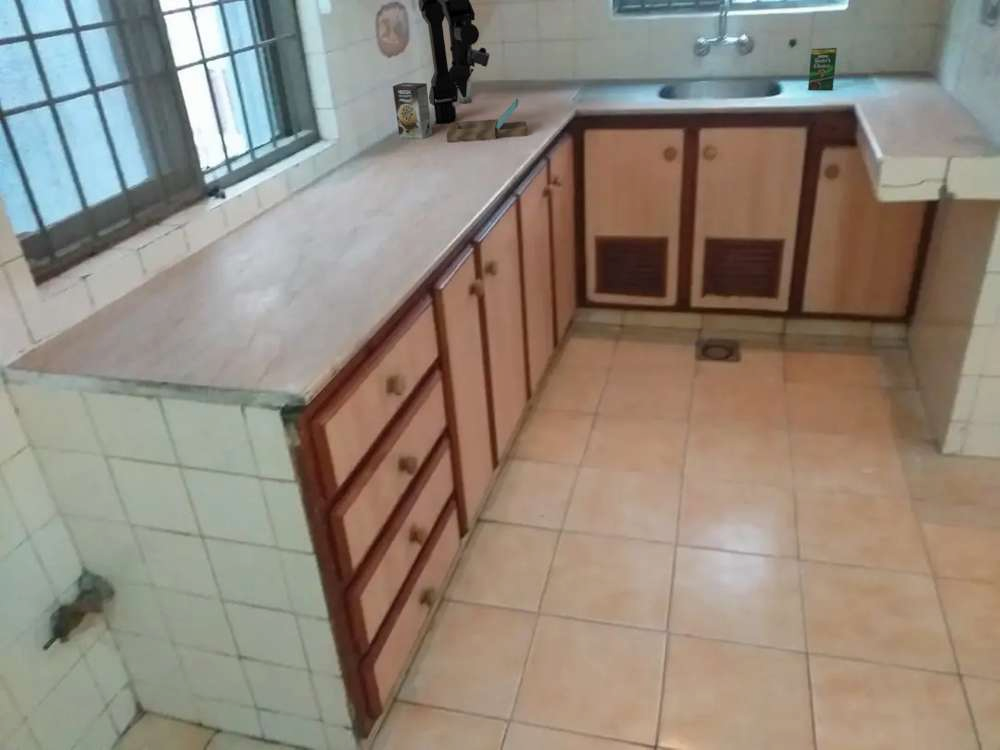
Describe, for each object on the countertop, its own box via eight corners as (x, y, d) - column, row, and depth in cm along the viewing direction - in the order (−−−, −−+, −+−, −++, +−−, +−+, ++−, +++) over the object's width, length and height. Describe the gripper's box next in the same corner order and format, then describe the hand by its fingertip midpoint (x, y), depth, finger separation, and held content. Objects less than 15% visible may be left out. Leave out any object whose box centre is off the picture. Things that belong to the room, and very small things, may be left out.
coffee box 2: (806, 90, 276) (810, 49, 270) (808, 88, 278) (812, 47, 272) (831, 90, 273) (836, 49, 266) (833, 88, 275) (837, 47, 268)
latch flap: (498, 129, 251) (496, 127, 251) (499, 122, 260) (498, 120, 259) (517, 107, 247) (515, 105, 247) (518, 100, 256) (516, 98, 256)
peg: (459, 104, 251) (456, 77, 247) (460, 101, 254) (457, 74, 250) (471, 103, 250) (469, 76, 247) (473, 100, 254) (470, 73, 250)
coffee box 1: (398, 138, 262) (391, 86, 254) (409, 133, 267) (402, 82, 259) (422, 139, 258) (415, 86, 250) (433, 134, 263) (427, 82, 255)
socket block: (447, 142, 252) (446, 132, 250) (452, 131, 264) (451, 122, 262) (525, 137, 250) (525, 127, 248) (526, 126, 262) (526, 117, 260)
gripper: (484, 44, 235) (489, 99, 243) (488, 35, 251) (492, 88, 259) (446, 47, 236) (452, 102, 244) (452, 38, 252) (458, 91, 260)
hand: (465, 95), depth 251 cm, fingers closed on peg, 4 cm apart
